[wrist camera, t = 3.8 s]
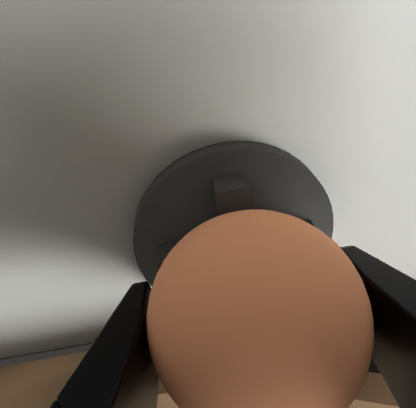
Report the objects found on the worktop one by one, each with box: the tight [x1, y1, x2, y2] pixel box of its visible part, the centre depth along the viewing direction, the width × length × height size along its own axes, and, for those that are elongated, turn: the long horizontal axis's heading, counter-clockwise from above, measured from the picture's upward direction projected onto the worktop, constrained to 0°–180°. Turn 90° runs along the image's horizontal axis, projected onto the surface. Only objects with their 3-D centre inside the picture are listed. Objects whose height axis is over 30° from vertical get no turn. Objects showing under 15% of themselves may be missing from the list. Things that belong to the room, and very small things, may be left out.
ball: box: [146, 209, 374, 408], centre depth 8 cm, size 5×5×5 cm
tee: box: [133, 141, 333, 286], centre depth 11 cm, size 6×6×1 cm
